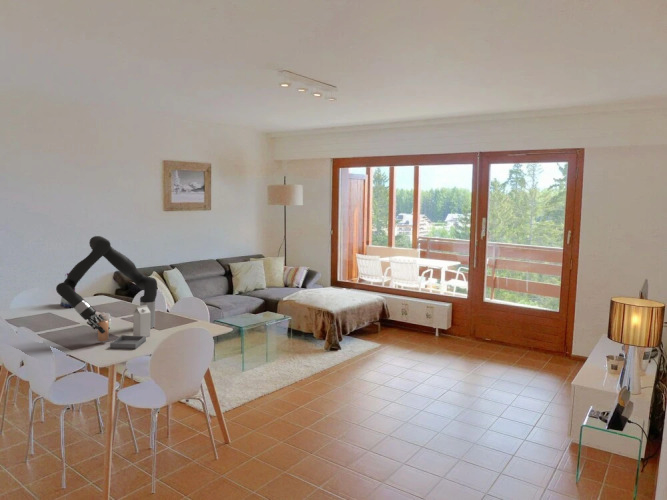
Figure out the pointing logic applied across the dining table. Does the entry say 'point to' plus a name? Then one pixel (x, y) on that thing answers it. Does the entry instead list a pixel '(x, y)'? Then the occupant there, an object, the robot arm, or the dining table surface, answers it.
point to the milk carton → (141, 321)
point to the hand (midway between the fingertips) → (106, 330)
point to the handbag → (64, 302)
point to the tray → (128, 342)
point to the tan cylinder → (106, 334)
